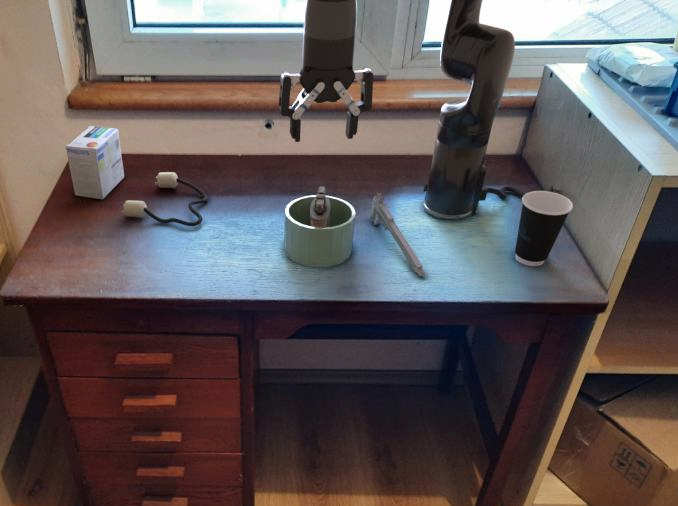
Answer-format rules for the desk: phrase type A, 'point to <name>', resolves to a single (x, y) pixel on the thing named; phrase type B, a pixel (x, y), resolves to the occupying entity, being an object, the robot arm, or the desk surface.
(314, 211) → the lighter
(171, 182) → the cable
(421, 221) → the desk surface
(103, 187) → the light bulb box
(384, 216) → the caliper
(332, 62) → the robot arm
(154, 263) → the desk surface
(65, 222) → the desk surface
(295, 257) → the pencil cup
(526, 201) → the dixie cup
